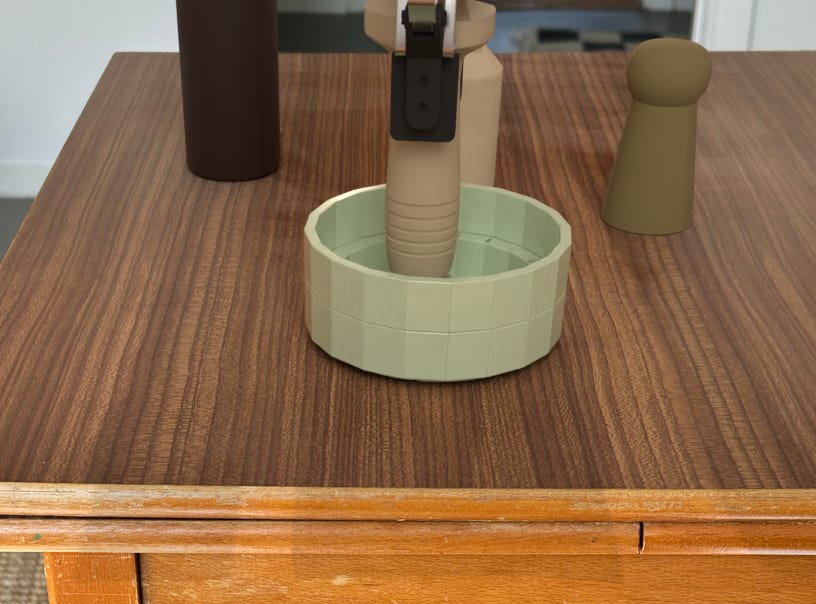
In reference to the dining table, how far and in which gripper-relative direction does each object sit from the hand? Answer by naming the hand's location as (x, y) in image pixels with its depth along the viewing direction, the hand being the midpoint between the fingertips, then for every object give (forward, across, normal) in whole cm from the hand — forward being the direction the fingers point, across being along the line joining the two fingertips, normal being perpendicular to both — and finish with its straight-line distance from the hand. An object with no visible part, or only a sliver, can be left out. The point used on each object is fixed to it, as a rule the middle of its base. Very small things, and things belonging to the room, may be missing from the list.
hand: (426, 116), depth 67 cm
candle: (+12, +21, -1) cm, 24 cm away
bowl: (+12, 0, -1) cm, 12 cm away
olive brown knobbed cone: (+12, +19, -14) cm, 26 cm away
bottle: (+12, +25, +15) cm, 32 cm away
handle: (+10, 0, 0) cm, 10 cm away
